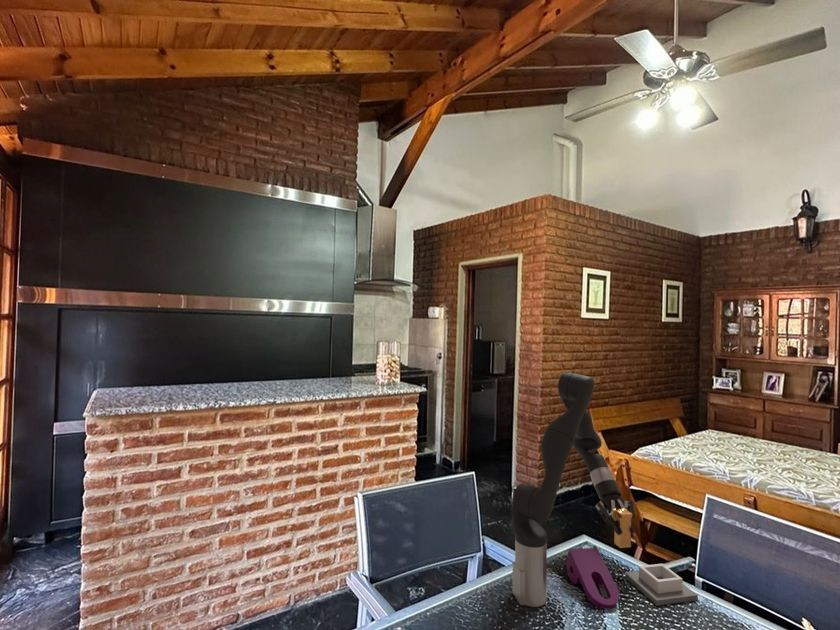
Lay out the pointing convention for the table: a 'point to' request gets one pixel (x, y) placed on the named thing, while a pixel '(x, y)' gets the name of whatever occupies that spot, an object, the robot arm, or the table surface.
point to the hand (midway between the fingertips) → (626, 533)
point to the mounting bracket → (592, 576)
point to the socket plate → (661, 585)
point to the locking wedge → (623, 528)
